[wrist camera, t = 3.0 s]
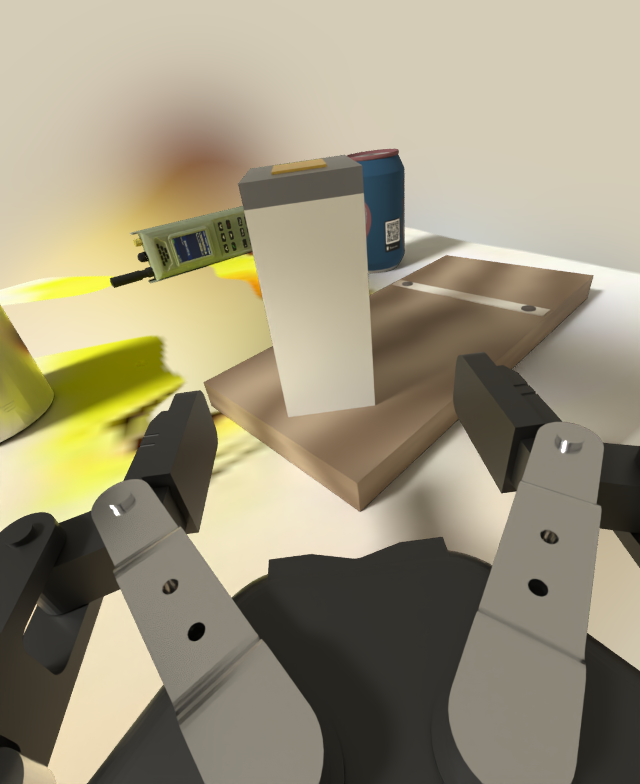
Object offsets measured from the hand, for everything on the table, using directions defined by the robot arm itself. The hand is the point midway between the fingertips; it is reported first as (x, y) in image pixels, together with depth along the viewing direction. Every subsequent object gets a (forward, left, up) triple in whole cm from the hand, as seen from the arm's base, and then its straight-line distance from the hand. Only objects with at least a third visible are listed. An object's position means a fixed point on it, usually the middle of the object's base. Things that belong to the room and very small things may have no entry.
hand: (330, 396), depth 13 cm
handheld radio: (-49, +20, -9) cm, 53 cm away
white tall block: (-8, +7, -7) cm, 12 cm away
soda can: (-24, +31, -9) cm, 40 cm away
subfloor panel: (-8, +17, -9) cm, 21 cm away
